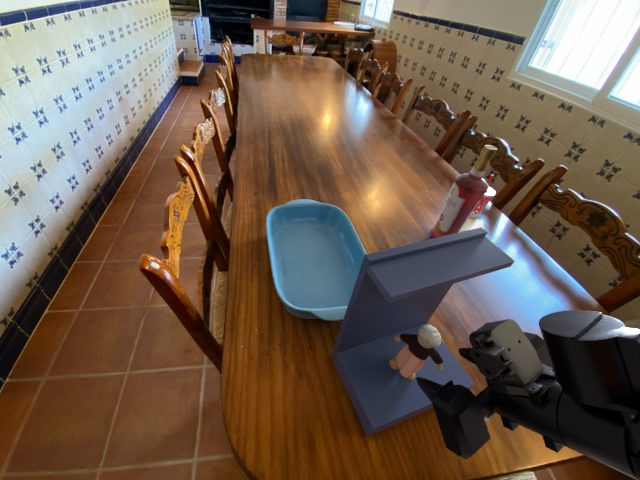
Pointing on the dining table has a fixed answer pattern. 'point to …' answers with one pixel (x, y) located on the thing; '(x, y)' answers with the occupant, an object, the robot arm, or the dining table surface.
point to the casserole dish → (313, 258)
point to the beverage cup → (483, 200)
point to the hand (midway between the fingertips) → (439, 365)
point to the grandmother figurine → (417, 351)
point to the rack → (404, 322)
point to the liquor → (464, 196)
